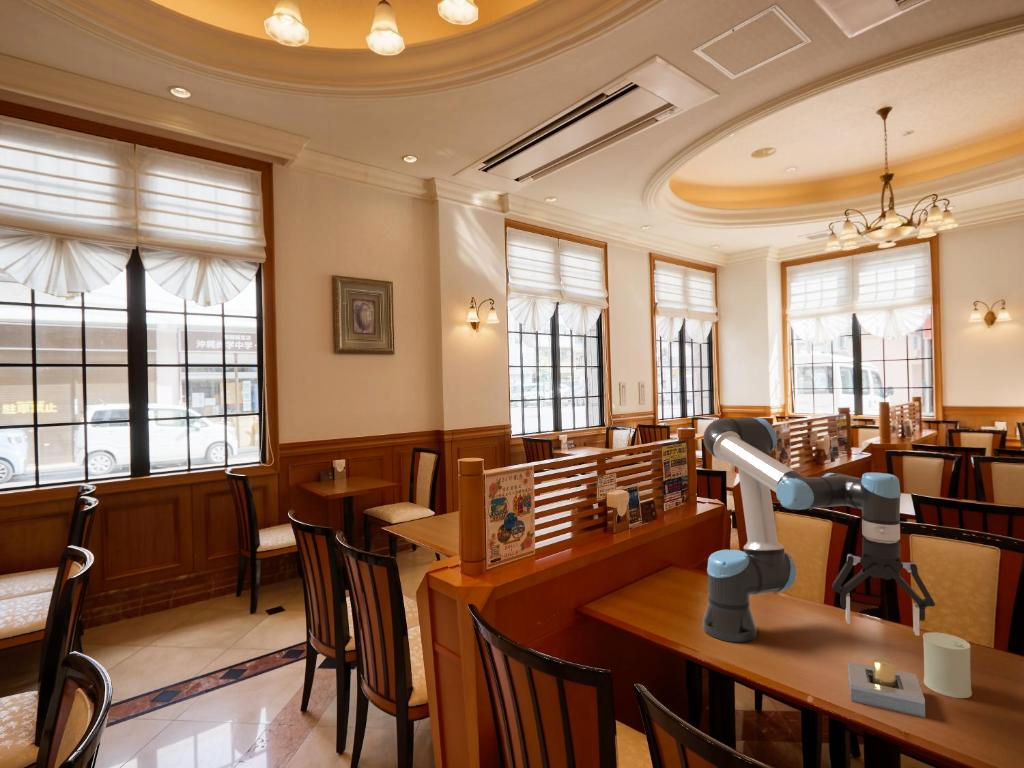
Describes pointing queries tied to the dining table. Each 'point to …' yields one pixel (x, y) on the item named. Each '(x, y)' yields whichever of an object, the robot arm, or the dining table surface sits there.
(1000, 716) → the dining table surface
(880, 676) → the golden yellow cylinder
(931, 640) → the can
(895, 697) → the block
